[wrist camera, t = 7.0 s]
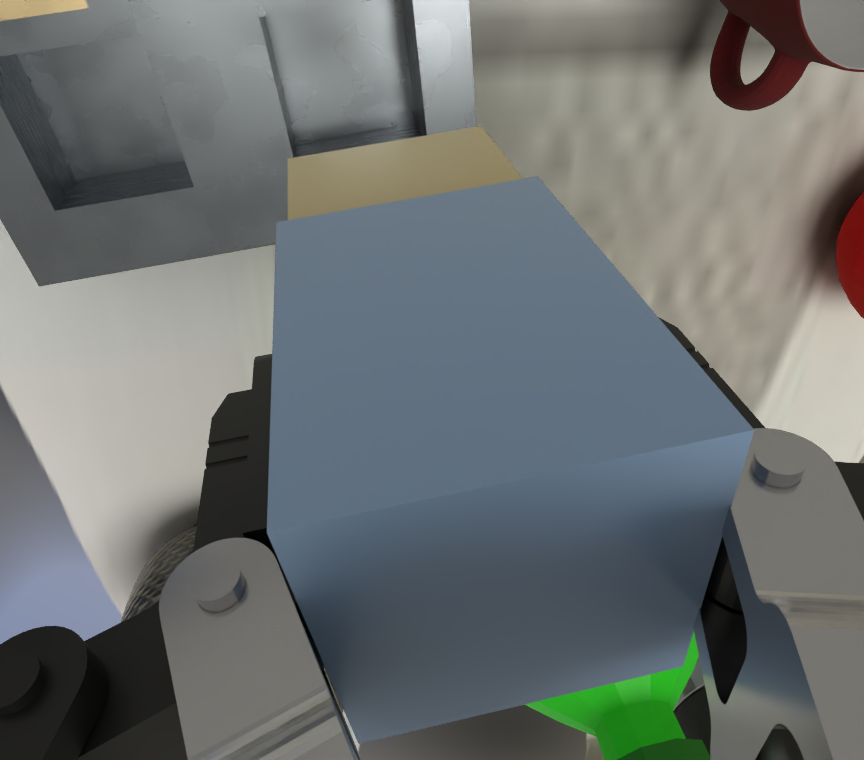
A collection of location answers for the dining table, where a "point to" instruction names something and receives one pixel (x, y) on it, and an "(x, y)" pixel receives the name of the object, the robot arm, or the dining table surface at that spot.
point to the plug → (480, 441)
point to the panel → (202, 115)
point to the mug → (785, 45)
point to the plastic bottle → (632, 715)
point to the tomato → (852, 255)
